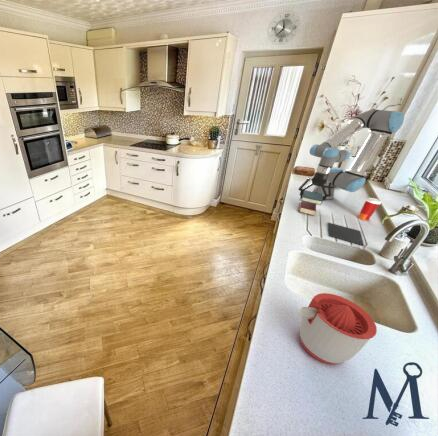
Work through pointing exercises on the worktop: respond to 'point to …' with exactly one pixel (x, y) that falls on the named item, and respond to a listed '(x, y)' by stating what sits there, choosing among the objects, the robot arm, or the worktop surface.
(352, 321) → the citrus juicer
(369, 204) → the paper cup
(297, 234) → the worktop surface
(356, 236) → the rubber mat
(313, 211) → the burgundy notebook
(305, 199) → the teal hardback
